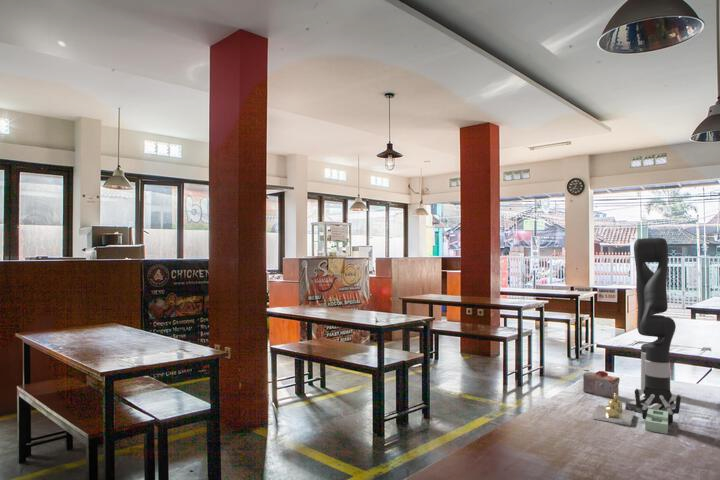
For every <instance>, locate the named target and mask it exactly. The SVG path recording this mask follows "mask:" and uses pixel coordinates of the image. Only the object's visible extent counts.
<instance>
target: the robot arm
mask: <svg viewBox="0 0 720 480" xmlns="http://www.w3.org/2000/svg"><path fill="white" fill-rule="evenodd" d="M633 255H634V262H635V263H634V265H635V271H636V272H635V273H636V282H635V284H636V285H635V287H636V301H637V318H636V321H637V322H636V329H637V332H638V334H639V335H641V336H645V337H653V338H655V337H656V338H657V339H655V340H653V341H651V342H646V343H643V344H642V345H641V346H640V389H639V388H635V390H634V396H635V397H634V398H635V400H636V406H637V407H639V408H641V409H642V413H641V417H642V419H643V420H645V419H646V416H647V407H648V406H649V404H650V403H654V404H656V403H657V404H660V405H663V404H664V406H665V409H666V411H667V412H668V425H669V426H671V424H672V425H673V423H674V415H676V414H679V413H680V407H681V401H682V396H681V394H674V393H672V392H671V364H670V349H671V345H672V340H673V338H674V335H675V332H676V323H675V321H674V319H673V318H672V317H671V316H670V317H669V316H664V315H662V313H665V312H667V311H668V307H669V305H668V293H667V283H668V281H667V280H668V266H669V248H668V241H667V240H666V239H665V238H663V237H648V238H638V239H635V241H634V244H633ZM647 263H658V265H657V268H656V270H655V272H653V270H651V269H650V268H649V266H648V265H647ZM643 394H644V396H646V397H647V400H646V402H645V403H644V405H643V404H641V402H640V398H641V397H642V395H643ZM671 397H672V398H673V399H674V403H675V405H674V406H675V407H674V408H672V407H671V406H672V405H670V404H669V402H668V400H669V399H670V398H671Z"/></svg>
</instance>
